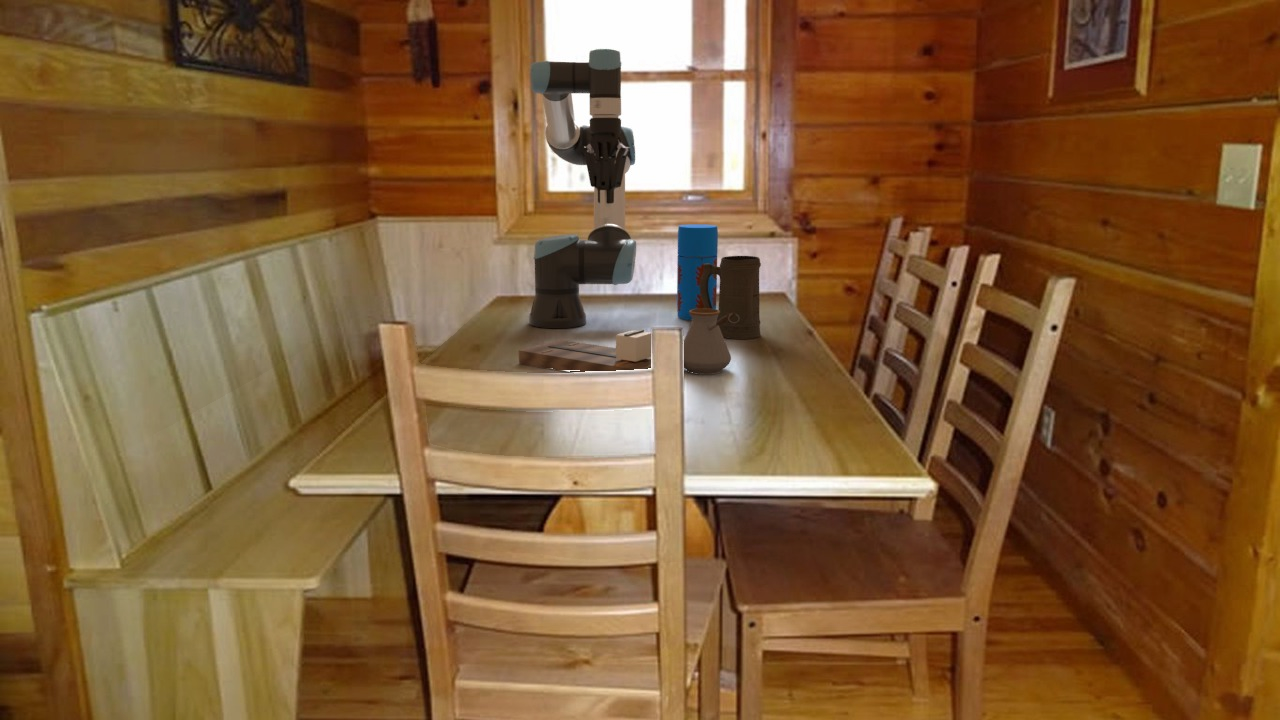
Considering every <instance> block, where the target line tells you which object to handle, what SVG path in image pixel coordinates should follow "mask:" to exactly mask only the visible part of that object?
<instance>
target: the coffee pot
mask: <svg viewBox="0 0 1280 720" xmlns="http://www.w3.org/2000/svg"><path fill="white" fill-rule="evenodd" d="M719 313H720V311H719V310H718V309H717V308H716V309H707V308H700V309H692V310H690V311H689V314H690V315H691V317H692V320H691V323H690V326H689V328H688V330H687V332H686V335H685V336H684V339H683V341H684V368H683V369H684V370H686V369H687V371H686V372H687V373H689V372H693V373H697V374H696V375H706V376H707V375H717V374H719V373H722V372H723V370H724V369H725V368H727V366H729V364H730V363H731V360H732V356H731V353H730V351H729V347H728V346H727V344H726V340H725V338H723V335H722V333H721V330H720V328H719V325H721V324H723V323H725V322H727V321H728V320H729V321H730V320H731V319H732V318H733V317H734V316H735V315H737V314H735V313H731V314H727V316H723V317H722V318H721V319H720V320H718V321H717V317H718V314H719ZM737 316H738V315H737ZM738 318H739V316H738ZM738 321H739V320H738ZM738 321H737V322H738ZM730 322H731V321H730ZM731 323H734V322H731ZM735 323H736V322H735ZM688 371H689V372H688ZM693 373H692V374H693Z"/></svg>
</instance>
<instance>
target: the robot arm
mask: <svg viewBox="0 0 1280 720" xmlns="http://www.w3.org/2000/svg"><path fill="white" fill-rule="evenodd" d="M588 54H589V55H588V56H589V57H588V61H553V60H552V61H549V60H545V61H534V62H533V63H532V64H531V66H530V86H531V87H530V89H531V91H532V92H533V93H534V94H541V97H542V103H543V109H544V113H545V117H546V124H547V125H546V127H545V133H544V134H545V139H546V143H547V145H548V147H549V148H550V150H552V152H553V154H555V155H556V156H558V157H559V158H560V159H561V160H564V161H565V162H567V163H570V164H572V165H576V166H586V169H587V172H588V173H587V174H588V178H589V184H590V186H591V187H592V188H594V189H593V230H591V231H590V232H589V234H588V236H587V239H580V237H579V235H578V234H576V233H573V234H560V235H554V236H549V237H547V236H546V237H544V238H540V239H538V240H537V241H536V242H535V244H534V251H533V252H534V256H533V260H534V291H535V292H534V298H533V301H532V305H531V308H530V309H531V310H530V313H529V317H528V318H529V319H528V320H529V321H528V323H529V325H530V326H532V327H536V328H542V329H543V328H544V329H568V328H576V327H581V326H584V325H586V323H587V315H586V312H585V309H584V305H583V302H582V298H581V296H580V285H613V286H617V285H618V286H619V285H626V284H630V283H631V282H632V280H633V278H634V273H635V267H636V256H637V255H636V254H637V242H636V240H635V239H632V238H631V235H630V233H629V232H628V231H627V229H626V174H627V172H629V170H630V168H631V166H633V165H635V163H636V147H635V138H634V131H633V129H632V127H631V126H630V125H629V124H626V123H622V119H621V118H620V117H619V116H622V90H621V89H622V60H621V59H622V57H621V56H622V55H621V52H620V50H618V49H615V48H594V49H591V50H590V51H589V53H588ZM573 94H589V116H592V117H591V118H590V119H589V123H577V122H576V120H575V112H574V111H575V110H574V104H573V97H572V96H573Z"/></svg>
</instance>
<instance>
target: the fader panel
mask: <svg viewBox="0 0 1280 720" xmlns="http://www.w3.org/2000/svg"><path fill="white" fill-rule="evenodd" d="M518 363H519V365H525V366H530V367H536V368H541V369H546V368H553V369H555V370H554V371H557V370H580V371H570V372H585V371H616V370H634V369H648V368H651V357H649V358H646V359H643V360H640V361H636V362H634V361H628V360H622V359H616V347H610V346H605V345H599V344H592V343H591V344H590V343H585V342H584V343H583V342H577V341H571V340H564V339H557V340H554V341H549V342H546V343H542V344H538V345H534V346H530V347H527V348H523V349H520V350H519V349H518Z"/></svg>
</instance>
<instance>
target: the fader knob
mask: <svg viewBox="0 0 1280 720" xmlns="http://www.w3.org/2000/svg"><path fill="white" fill-rule="evenodd" d="M651 333H652V332H650V331H649V332H647V331H645V330H644V329H637V330H634V329H633V330H628V331H626V332H621V333H618V334H616V335H615V348H616V359H622V360H628V361H634V362H636V361H640V360H643V359H646V358H649V357H651Z"/></svg>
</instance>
